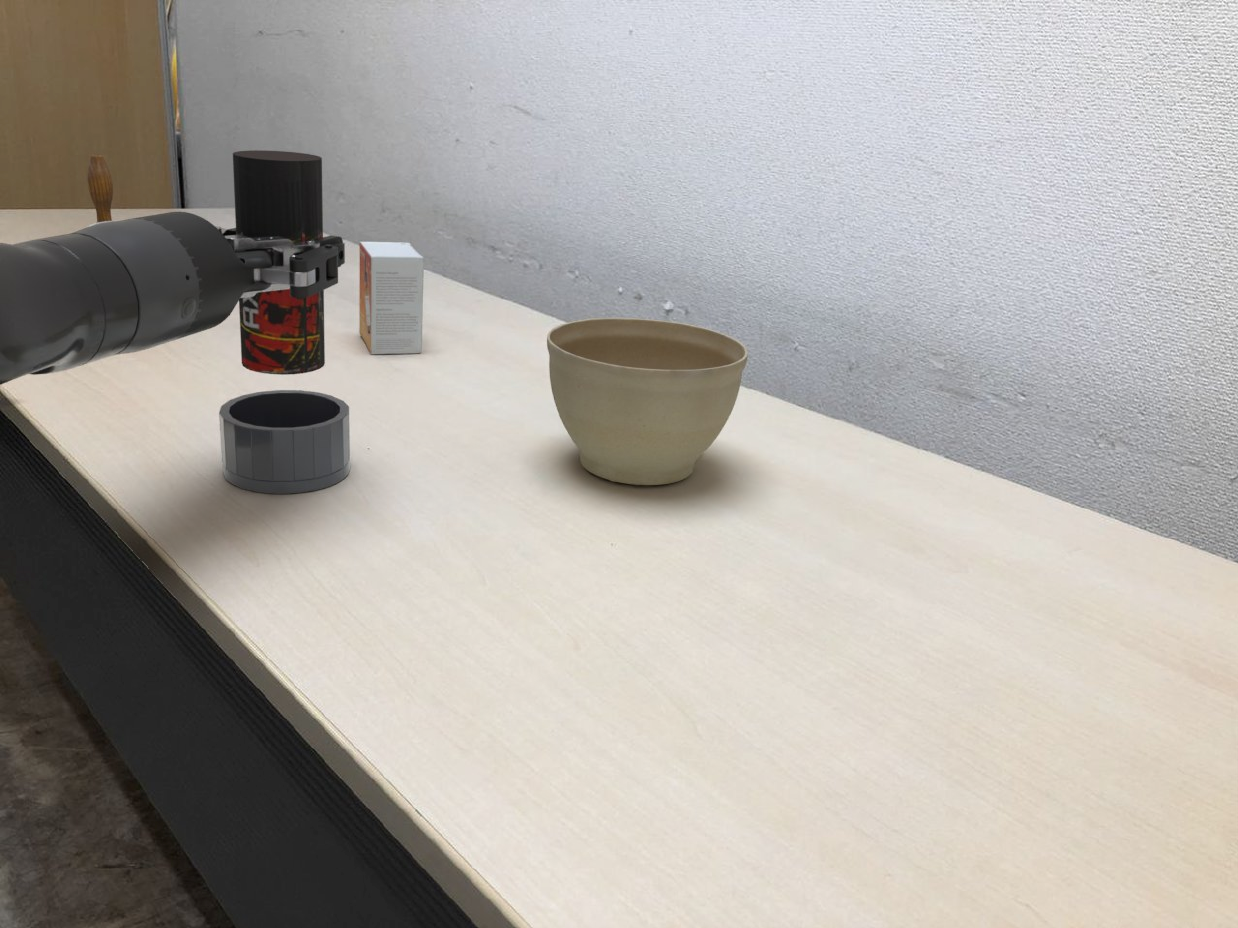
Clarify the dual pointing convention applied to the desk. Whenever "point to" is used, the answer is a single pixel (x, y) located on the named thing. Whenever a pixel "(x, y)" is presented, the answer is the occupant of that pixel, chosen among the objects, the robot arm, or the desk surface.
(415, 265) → the small box
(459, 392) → the desk surface
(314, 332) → the deodorant
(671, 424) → the planter bowl
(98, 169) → the hand bell
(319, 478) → the stand
